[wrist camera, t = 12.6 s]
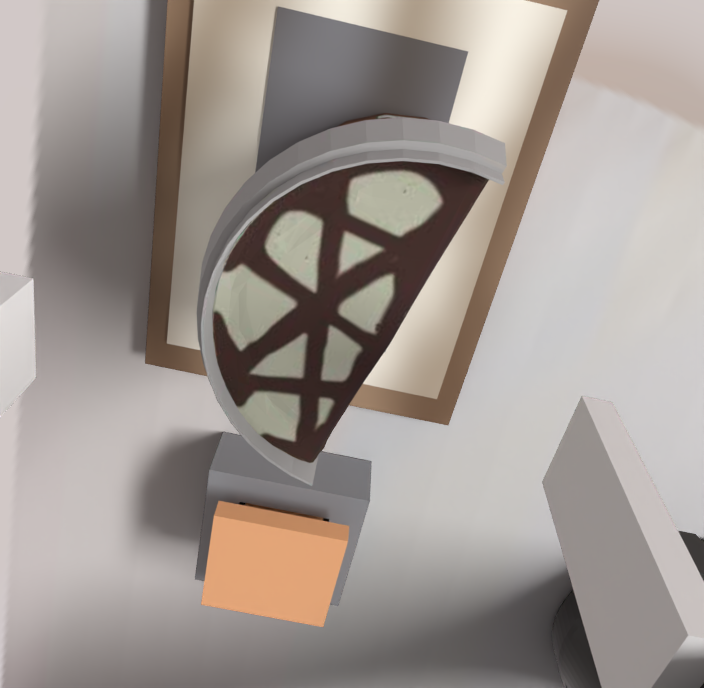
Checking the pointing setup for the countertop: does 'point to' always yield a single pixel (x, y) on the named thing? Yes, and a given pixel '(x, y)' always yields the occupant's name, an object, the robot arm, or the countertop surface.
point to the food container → (329, 270)
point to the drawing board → (334, 109)
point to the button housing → (287, 493)
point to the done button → (273, 562)
